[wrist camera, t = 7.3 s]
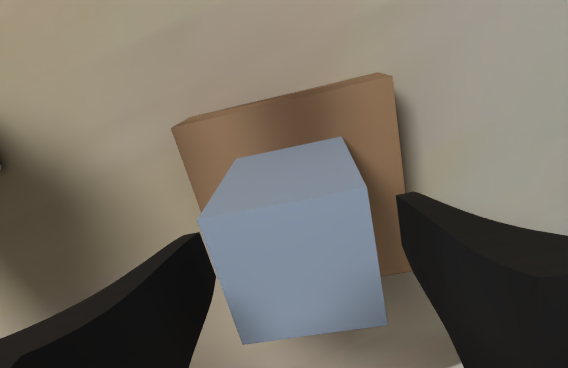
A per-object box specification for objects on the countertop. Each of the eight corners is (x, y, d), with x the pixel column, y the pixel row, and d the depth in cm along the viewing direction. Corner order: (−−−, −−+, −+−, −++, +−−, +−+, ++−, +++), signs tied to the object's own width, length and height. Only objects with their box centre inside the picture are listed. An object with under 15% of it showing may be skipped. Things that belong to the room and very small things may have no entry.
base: (241, 269, 19) (232, 299, 17) (190, 117, 16) (170, 128, 13) (399, 242, 18) (413, 270, 15) (377, 72, 15) (392, 75, 12)
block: (262, 248, 15) (242, 344, 10) (235, 158, 14) (196, 219, 9) (357, 231, 15) (387, 325, 10) (341, 136, 13) (366, 187, 8)
